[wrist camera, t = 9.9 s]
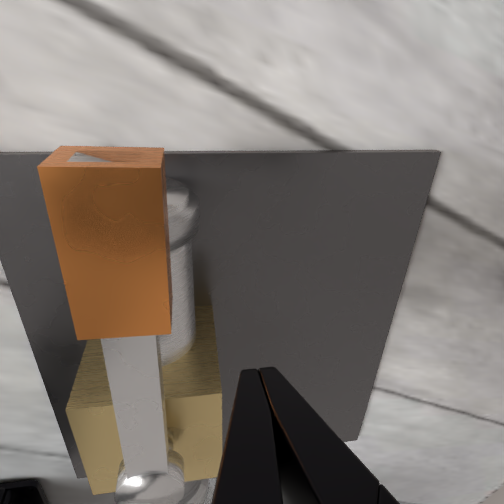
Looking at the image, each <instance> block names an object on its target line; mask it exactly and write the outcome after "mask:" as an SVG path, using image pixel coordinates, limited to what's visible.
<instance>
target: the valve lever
mask: <svg viewBox="0 0 504 504" xmlns="http://www.w3.org/2000/svg"><path fill="white" fill-rule="evenodd" d="M37 169H38V173H39V177H40V182H41V186H42V190H43V195H44V199H45V203H46V207H47V212H48V216H49V220H50V225H51V229H52V233H53V238H54V242H55V246H56V250H57V255H58V259H59V263H60V268H61V272H62V276H63V281H64V285H65V289H66V294H67V298H68V302H69V306H70V311H71V315H72V319H73V324H74V328H75V332H76V337H77V340H89V339H101V344H102V349H103V354H104V360H105V365H106V370H107V375H108V381H109V386H110V391H111V396H112V402H113V407H114V412H115V417H116V423H117V428H118V433H119V438H120V444H121V449H122V454H123V460H122V461H121V463H120V465H119V471H118V478H117V485H116V492H115V502H116V504H177V503H178V502H179V501H180V500H181V499H182V497H183V495H184V460H183V458H182V456H181V455H180V454H179V453H177V452H176V451H174V450H171V449H169V443H168V432H167V420H166V408H165V397H164V385H163V373H162V362H161V350H160V338H159V335H166V334H171V328H172V303H173V294H172V277H171V260H170V242H169V225H168V208H167V191H166V174H165V156H164V148H146V147H92V146H60V147H59V148H58V149H57V150H55V151H54V152H53V153H52V154H51V155H50V156H49V157H47V158H46V159H45V160H44V161H43V162H42V163H41V164H39V165H38V166H37Z"/></svg>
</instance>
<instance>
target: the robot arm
mask: <svg viewBox="0 0 504 504" xmlns="http://www.w3.org/2000/svg"><path fill="white" fill-rule="evenodd" d="M0 504H48V501H47V499H46V497H45V495H44V492H43V490H42V488H41V486H40V484H39V482H38V481H35V480H28V481H20V482H13V483H6V484H0ZM211 504H400V503H399V502H398V501H397V500H396V499H395V498H394V497H393V496H392V495H391V494H390V492H389V491H388V490H387V489H386V488H385V487H384V486H383V485H382V484H380V485H379V480H378V479H377V478H376V477H375V476H374V475H373V474H372V473H371V472H370V471H369V469H368V468H367V467H366V466H365V465H364V464H363V463H362V462H361V461H360V460H359V458H358V457H357V456H356V455H355V454H354V453H353V452H352V451H351V450H350V449H349V447H348V446H347V445H346V444H345V443H344V442H343V441H342V440H341V439H340V438H339V436H338V435H337V434H336V433H335V432H334V431H333V430H332V429H331V428H330V427H329V425H328V424H327V423H326V422H325V421H324V420H323V419H322V418H321V417H320V416H319V414H318V413H317V412H316V411H315V410H314V409H313V408H312V407H311V406H310V405H309V404H308V402H307V401H306V400H305V399H304V398H303V397H302V396H301V395H300V394H299V393H298V391H297V390H296V389H295V388H294V387H293V386H292V385H291V384H290V383H289V382H288V380H287V379H286V378H285V377H284V376H283V375H282V374H281V373H280V372H279V371H278V369H277V368H275V367H262V368H259V369H258V370H257V369H256V368H253V369H243V370H241V371H240V375H239V379H238V384H237V388H236V393H235V398H234V402H233V407H232V411H231V416H230V421H229V425H228V430H227V434H226V439H225V443H224V448H223V453H222V457H221V462H220V466H219V471H218V475H217V480H216V485H215V489H214V494H213V498H212V503H211Z"/></svg>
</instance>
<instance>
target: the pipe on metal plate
mask: <svg viewBox="0 0 504 504" xmlns="http://www.w3.org/2000/svg"><path fill="white" fill-rule="evenodd" d="M52 153H53V152H0V260H1V263H2V266H3V269H4V271H5V274H6V277H7V280H8V283H9V286H10V288H11V291H12V294H13V297H14V300H15V303H16V305H17V308H18V311H19V314H20V317H21V320H22V322H23V325H24V328H25V331H26V334H27V337H28V339H29V342H30V345H31V348H32V351H33V354H34V356H35V359H36V362H37V365H38V368H39V371H40V373H41V376H42V379H43V382H44V385H45V388H46V390H47V393H48V396H49V399H50V402H51V405H52V407H53V410H54V413H55V416H56V419H57V422H58V424H59V427H60V430H61V433H62V436H63V439H64V441H65V444H66V447H67V450H68V453H69V456H70V458H71V461H72V464H73V467H74V470H75V473H76V475H77V478H84V477H87V478H88V481H89V484H90V487H91V490H92V493H93V495H97V494H104V493H111V492H116V485H117V478H118V471H119V465H120V463H121V461H122V460H123V454H122V449H121V444H120V438H119V433H118V428H117V423H116V417H115V412H114V407H113V402H112V396H111V391H110V386H109V381H108V375H107V370H106V365H105V360H104V354H103V349H102V344H101V339H89V340H77V337H76V332H75V328H74V324H73V319H72V315H71V311H70V306H69V302H68V298H67V294H66V289H65V285H64V281H63V276H62V272H61V268H60V263H59V259H58V255H57V250H56V246H55V242H54V238H53V233H52V229H51V225H50V220H49V216H48V212H47V207H46V203H45V199H44V195H43V190H42V186H41V182H40V177H39V173H38V169H37V166H38V165H39V164H41V163H42V162H43V161H44V160H45V159H46V158H47V157H49V156H50V155H51V154H52ZM440 153H441V152H440V151H437V150H332V151H164V156H165V174H166V191H167V208H168V225H169V242H170V260H171V277H172V294H173V303H172V328H171V334H166V335H159V338H160V350H161V362H162V373H163V385H164V397H165V408H166V420H167V432H168V443H169V449H171V450H174V451H176V452H177V453H179V454H180V455H181V456H182V458H183V460H184V495H183V497H182V499H181V500H180V501H179V502H178V503H177V504H203V503H204V501H205V499H206V496H207V493H208V489H209V478H215V477H217V475H218V471H219V466H220V462H221V457H222V453H223V448H224V443H225V439H226V434H227V430H228V425H229V421H230V416H231V411H232V407H233V402H234V398H235V393H236V388H237V384H238V379H239V375H240V371H241V370H243V369H253V368H256V369H257V370H258V369H259V368H262V367H275V368H277V369H278V371H279V372H280V373H281V374H282V375H283V376H284V377H285V378H286V379H287V380H288V382H289V383H290V384H291V385H292V386H293V387H294V388H295V389H296V390H297V391H298V393H299V394H300V395H301V396H302V397H303V398H304V399H305V400H306V401H307V402H308V404H309V405H310V406H311V407H312V408H313V409H314V410H315V411H316V412H317V413H318V414H319V416H320V417H321V418H322V419H323V420H324V421H325V422H326V423H327V424H328V425H329V427H330V428H331V429H332V430H333V431H334V432H335V433H336V434H337V435H338V436H339V438H340V439H341V440H342V441H343V442H347V441H354V440H357V439H358V435H359V432H360V428H361V425H362V421H363V418H364V415H365V411H366V408H367V404H368V401H369V397H370V394H371V390H372V387H373V384H374V380H375V377H376V373H377V370H378V366H379V363H380V360H381V356H382V353H383V349H384V346H385V342H386V339H387V335H388V332H389V329H390V325H391V322H392V318H393V315H394V311H395V308H396V304H397V301H398V298H399V294H400V291H401V287H402V284H403V280H404V277H405V273H406V270H407V267H408V263H409V260H410V256H411V253H412V249H413V246H414V242H415V239H416V236H417V232H418V229H419V225H420V222H421V218H422V215H423V211H424V208H425V205H426V201H427V198H428V194H429V191H430V187H431V184H432V180H433V177H434V174H435V170H436V167H437V163H438V160H439V156H440Z"/></svg>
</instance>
